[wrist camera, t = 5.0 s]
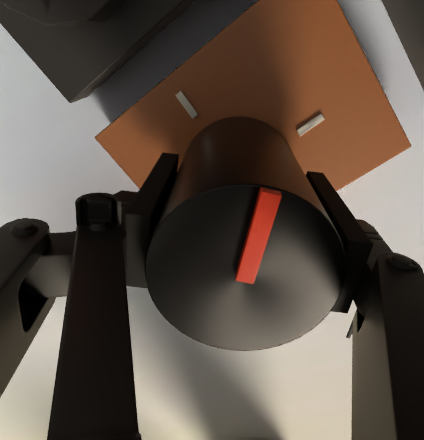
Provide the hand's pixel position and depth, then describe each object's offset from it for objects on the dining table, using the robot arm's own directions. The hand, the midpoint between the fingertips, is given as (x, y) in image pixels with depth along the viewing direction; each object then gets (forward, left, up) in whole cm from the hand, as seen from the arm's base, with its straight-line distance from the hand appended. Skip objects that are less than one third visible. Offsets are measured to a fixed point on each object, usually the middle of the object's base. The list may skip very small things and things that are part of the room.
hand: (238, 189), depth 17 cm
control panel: (0, +2, -5) cm, 6 cm away
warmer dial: (0, 0, -2) cm, 2 cm away
